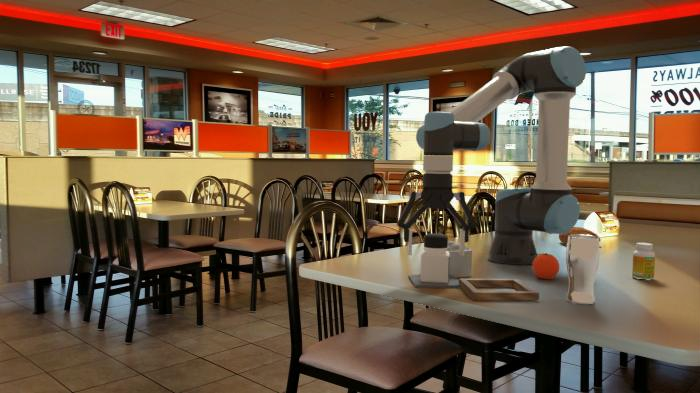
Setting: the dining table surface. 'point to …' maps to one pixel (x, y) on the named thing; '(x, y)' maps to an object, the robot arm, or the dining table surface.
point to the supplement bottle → (643, 261)
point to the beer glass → (582, 267)
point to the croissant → (575, 231)
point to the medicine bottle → (435, 259)
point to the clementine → (545, 266)
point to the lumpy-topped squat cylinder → (459, 260)
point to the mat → (417, 283)
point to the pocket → (521, 294)
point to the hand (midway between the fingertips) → (435, 254)
